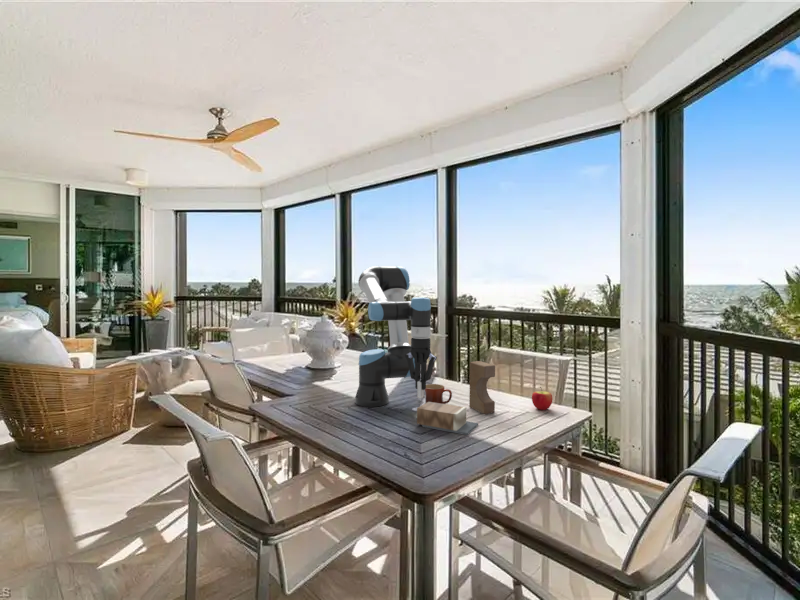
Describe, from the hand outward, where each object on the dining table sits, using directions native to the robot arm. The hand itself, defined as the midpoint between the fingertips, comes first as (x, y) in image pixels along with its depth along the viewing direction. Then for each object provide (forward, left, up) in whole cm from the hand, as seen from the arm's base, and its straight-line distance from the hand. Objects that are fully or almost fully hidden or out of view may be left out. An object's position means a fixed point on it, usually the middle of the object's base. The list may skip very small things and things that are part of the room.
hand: (420, 397), depth 173 cm
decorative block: (+16, +26, -10) cm, 32 cm away
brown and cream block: (+1, 0, -6) cm, 6 cm away
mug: (0, +16, -10) cm, 19 cm away
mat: (+12, +1, -10) cm, 15 cm away
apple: (+38, +40, -10) cm, 56 cm away
